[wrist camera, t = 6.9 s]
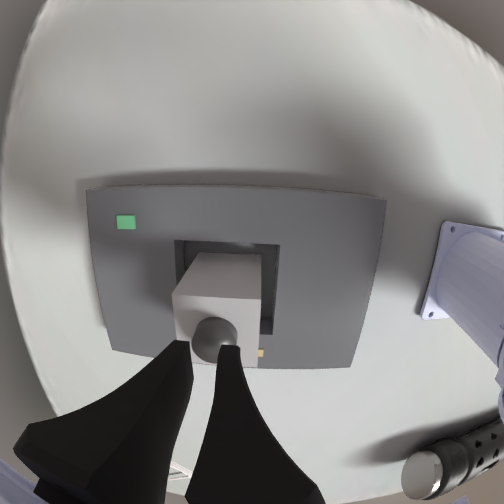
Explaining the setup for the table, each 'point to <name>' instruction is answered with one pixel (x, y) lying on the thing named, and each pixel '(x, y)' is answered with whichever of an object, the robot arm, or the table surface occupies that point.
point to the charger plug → (220, 306)
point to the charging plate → (239, 231)
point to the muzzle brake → (452, 462)
